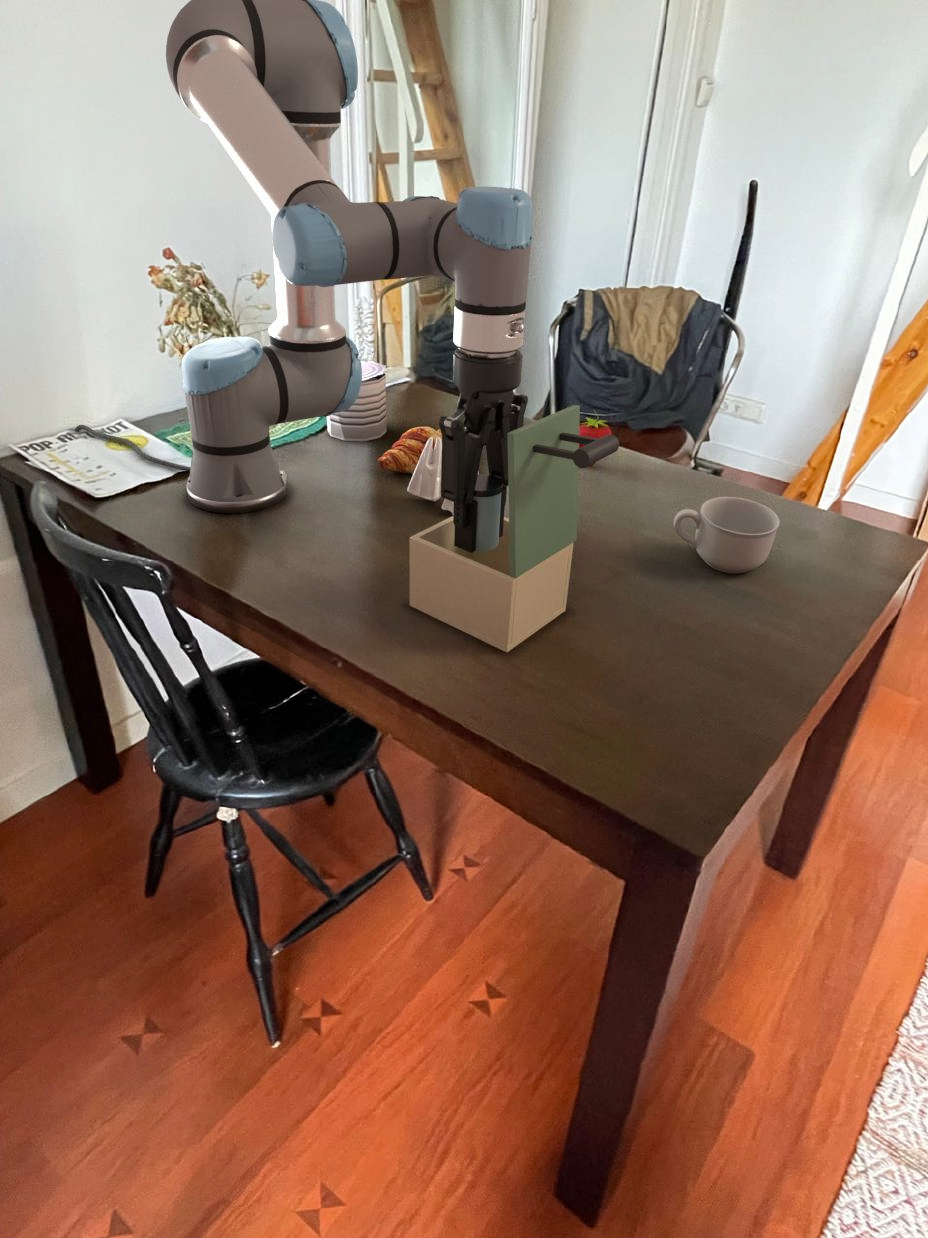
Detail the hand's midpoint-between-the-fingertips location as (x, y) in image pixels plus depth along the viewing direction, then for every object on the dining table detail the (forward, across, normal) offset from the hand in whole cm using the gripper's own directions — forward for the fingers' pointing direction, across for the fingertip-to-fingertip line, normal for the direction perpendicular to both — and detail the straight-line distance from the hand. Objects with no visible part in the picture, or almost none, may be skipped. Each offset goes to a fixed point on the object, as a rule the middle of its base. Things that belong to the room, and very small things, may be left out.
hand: (478, 540), depth 102 cm
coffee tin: (0, 0, 0) cm, 0 cm away
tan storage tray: (+9, 0, -2) cm, 9 cm away
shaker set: (+9, +19, +22) cm, 30 cm away
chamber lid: (-9, 0, -9) cm, 13 cm away
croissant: (+9, +31, +35) cm, 48 cm away
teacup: (+9, +32, -19) cm, 39 cm away
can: (+9, +34, +56) cm, 66 cm away
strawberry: (+9, +50, +14) cm, 53 cm away
